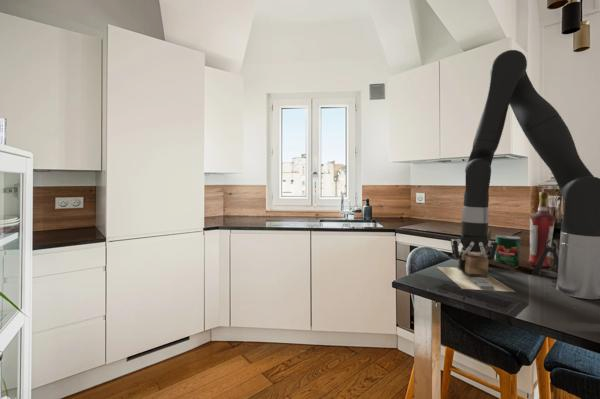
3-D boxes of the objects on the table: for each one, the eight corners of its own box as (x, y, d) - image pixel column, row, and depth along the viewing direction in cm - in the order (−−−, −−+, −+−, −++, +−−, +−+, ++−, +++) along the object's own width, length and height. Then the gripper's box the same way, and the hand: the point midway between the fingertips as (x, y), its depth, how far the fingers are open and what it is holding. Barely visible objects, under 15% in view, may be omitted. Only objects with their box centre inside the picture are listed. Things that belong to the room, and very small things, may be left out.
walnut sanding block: (474, 269, 105) (475, 252, 104) (487, 277, 96) (488, 258, 95) (457, 268, 105) (458, 251, 105) (469, 276, 96) (470, 258, 96)
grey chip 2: (488, 285, 88) (488, 282, 88) (493, 289, 85) (493, 286, 85) (475, 284, 89) (475, 282, 89) (480, 288, 86) (480, 285, 86)
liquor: (525, 262, 120) (529, 191, 118) (548, 265, 117) (553, 192, 115) (528, 266, 114) (533, 192, 112) (553, 269, 110) (559, 192, 108)
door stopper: (531, 274, 105) (533, 239, 104) (533, 270, 109) (536, 237, 108) (566, 280, 98) (569, 243, 98) (567, 276, 103) (569, 241, 102)
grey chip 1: (482, 281, 92) (482, 279, 92) (487, 285, 89) (487, 282, 89) (470, 281, 92) (470, 278, 92) (474, 284, 89) (475, 281, 89)
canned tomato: (511, 262, 119) (513, 235, 118) (523, 268, 111) (525, 238, 110) (490, 261, 120) (491, 234, 119) (500, 267, 112) (501, 237, 112)
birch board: (478, 272, 105) (479, 268, 105) (515, 296, 84) (515, 291, 84) (436, 270, 107) (436, 266, 107) (462, 292, 85) (462, 288, 85)
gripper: (456, 221, 96) (453, 273, 97) (504, 222, 95) (501, 276, 96) (447, 218, 104) (445, 267, 105) (492, 219, 102) (489, 269, 103)
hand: (472, 271), depth 100 cm, fingers closed on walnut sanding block, 5 cm apart
